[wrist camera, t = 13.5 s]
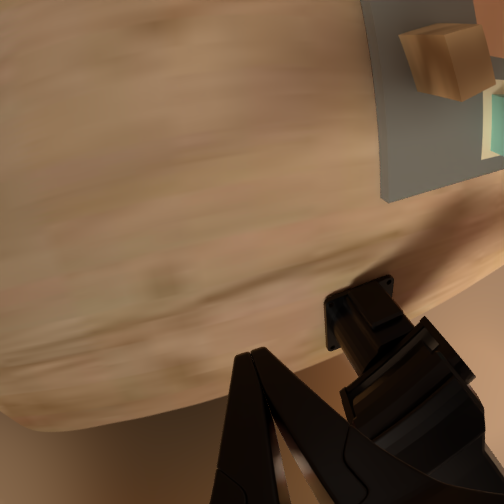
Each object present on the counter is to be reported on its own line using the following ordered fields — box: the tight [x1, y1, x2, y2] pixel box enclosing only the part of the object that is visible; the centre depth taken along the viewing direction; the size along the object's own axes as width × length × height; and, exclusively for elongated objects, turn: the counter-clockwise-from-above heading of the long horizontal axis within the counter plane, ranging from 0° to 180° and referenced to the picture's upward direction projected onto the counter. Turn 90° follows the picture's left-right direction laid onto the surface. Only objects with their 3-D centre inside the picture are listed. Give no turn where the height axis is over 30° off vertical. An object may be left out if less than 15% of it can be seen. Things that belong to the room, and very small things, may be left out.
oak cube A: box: [398, 23, 496, 102], centre depth 14 cm, size 4×4×4 cm
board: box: [360, 0, 504, 203], centre depth 17 cm, size 19×18×1 cm
